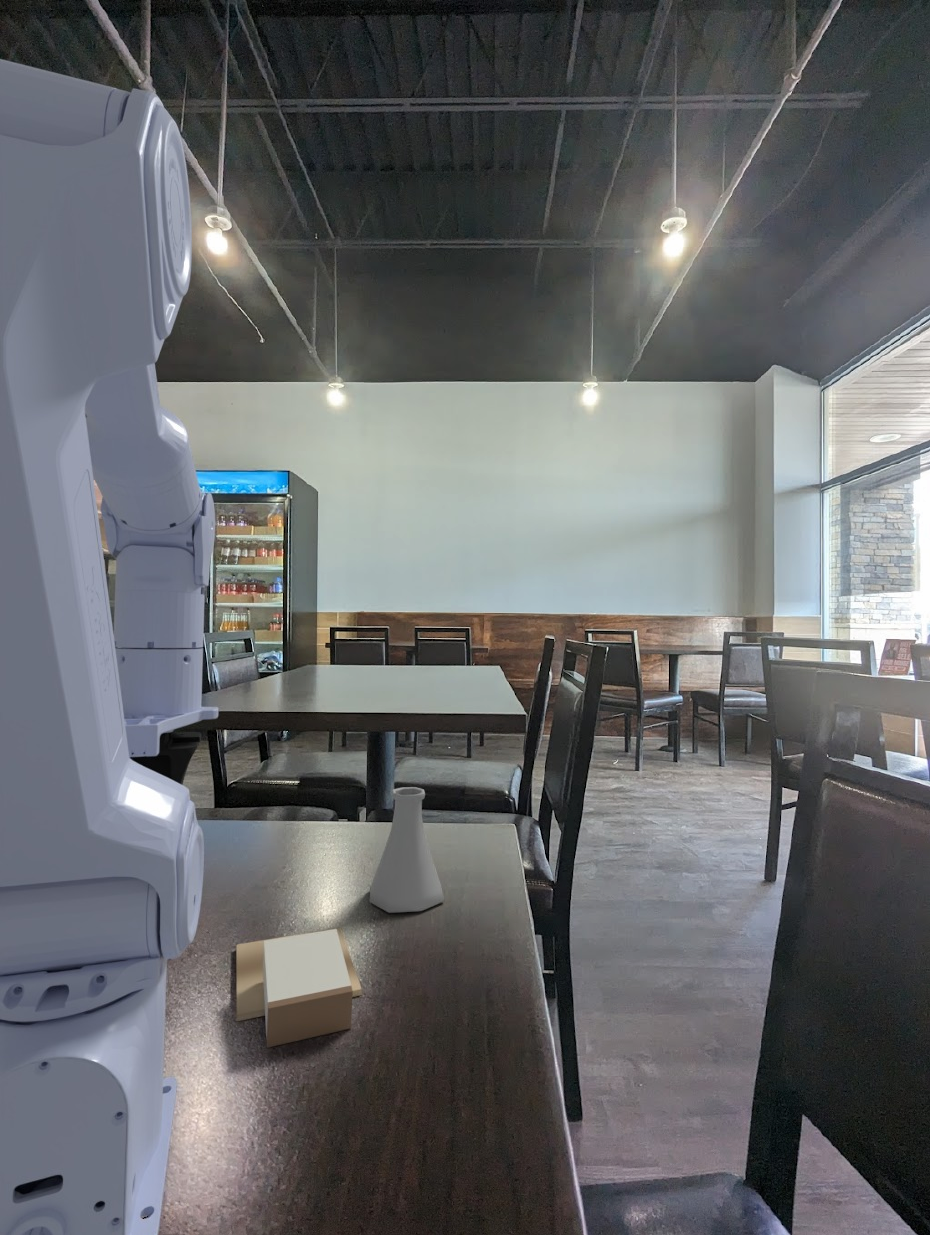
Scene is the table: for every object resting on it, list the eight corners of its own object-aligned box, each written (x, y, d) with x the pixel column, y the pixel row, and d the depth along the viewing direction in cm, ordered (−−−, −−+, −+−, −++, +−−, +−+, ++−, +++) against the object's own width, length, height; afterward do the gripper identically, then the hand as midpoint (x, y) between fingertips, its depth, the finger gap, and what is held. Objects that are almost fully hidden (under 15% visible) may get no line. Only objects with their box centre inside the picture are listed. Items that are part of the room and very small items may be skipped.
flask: (358, 889, 57) (360, 785, 57) (426, 876, 60) (428, 778, 60) (382, 922, 50) (384, 805, 51) (457, 906, 54) (459, 796, 54)
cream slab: (335, 961, 43) (350, 1028, 37) (262, 974, 41) (267, 1047, 35) (336, 928, 42) (352, 990, 36) (263, 940, 41) (268, 1008, 35)
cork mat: (361, 994, 40) (361, 989, 40) (236, 1021, 37) (236, 1015, 37) (339, 932, 48) (339, 927, 48) (236, 949, 45) (236, 944, 46)
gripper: (214, 651, 36) (207, 871, 36) (224, 646, 50) (219, 805, 50) (82, 651, 34) (74, 887, 34) (130, 645, 48) (125, 813, 47)
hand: (153, 839), depth 41 cm, fingers closed
